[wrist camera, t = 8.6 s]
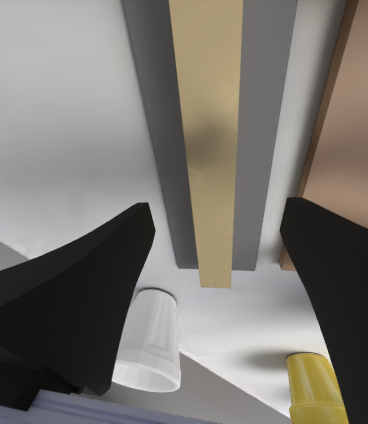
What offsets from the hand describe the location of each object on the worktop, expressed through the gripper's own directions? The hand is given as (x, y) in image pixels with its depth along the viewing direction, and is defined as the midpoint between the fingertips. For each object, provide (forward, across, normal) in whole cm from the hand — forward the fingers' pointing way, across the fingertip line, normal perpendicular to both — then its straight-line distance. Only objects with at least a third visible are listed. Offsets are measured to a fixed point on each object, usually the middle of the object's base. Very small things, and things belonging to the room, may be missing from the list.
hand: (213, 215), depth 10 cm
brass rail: (+6, 0, 0) cm, 6 cm away
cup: (+7, +9, +20) cm, 23 cm away
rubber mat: (+6, 0, 0) cm, 6 cm away
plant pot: (+7, -16, +37) cm, 41 cm away
